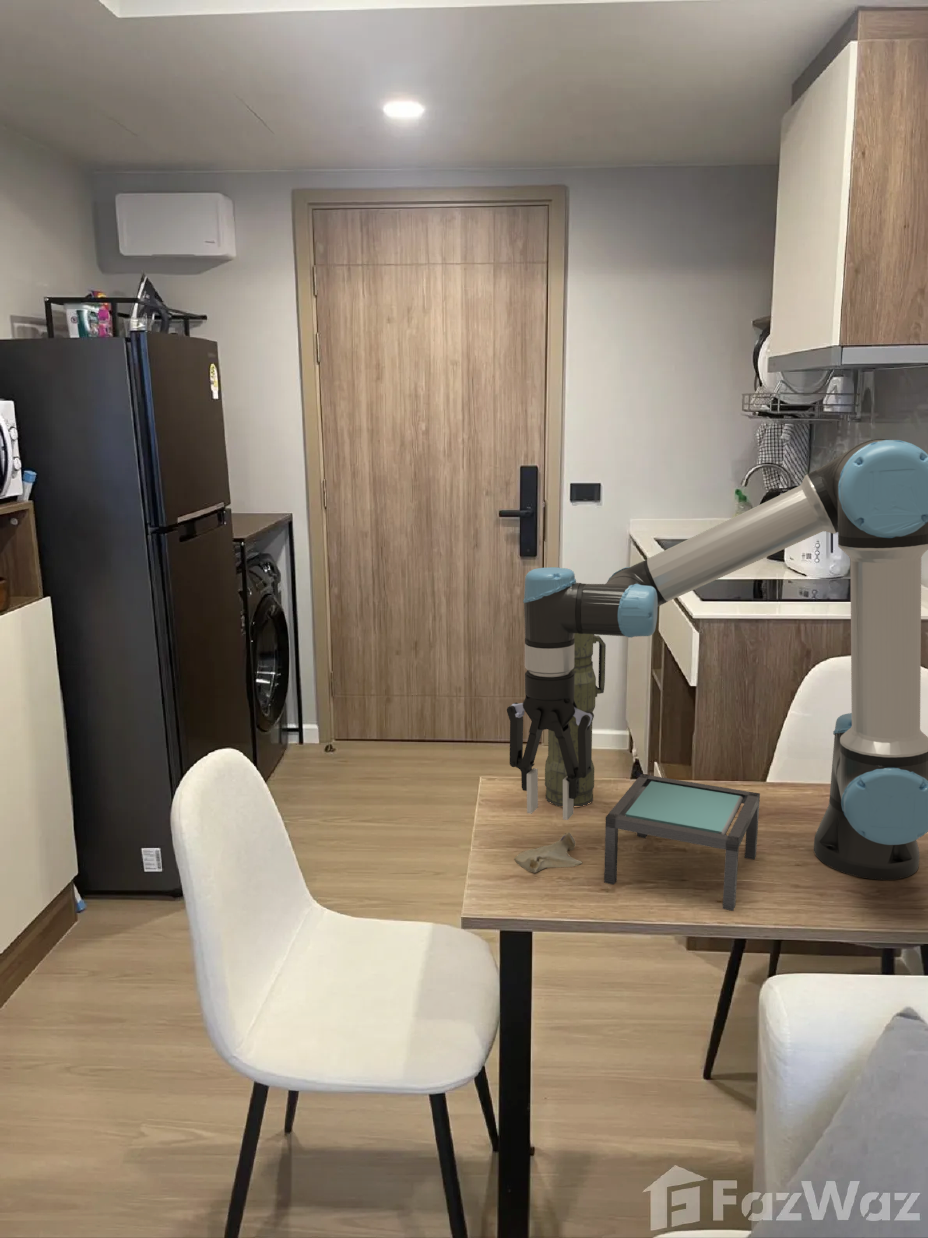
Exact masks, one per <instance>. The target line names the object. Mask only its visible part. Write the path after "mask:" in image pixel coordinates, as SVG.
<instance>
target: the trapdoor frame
mask: <svg viewBox="0 0 928 1238" xmlns="http://www.w3.org/2000/svg"><path fill="white" fill-rule="evenodd" d="M651 781H653V782H659V783H665V784H671V785H677V786H683V787H689V788H695V789H701V790H707V791H713V792H719V793H725V794H731V795H737V796H742V797H743V801H742V803H741V804H743V805H742V807H741V810H740V812H739V813H738V816H737V818H736V820H735V822H734V824H733V826H732V828H731V829H730V831H729V833H728V835H727V834H726V835H723V834H718V833H712V832H707V831H702V830H696V829H691V828H685V827H680V826H675V825H669V824H664V823H659V822H653V821H648V820H642V819H637V818H632V817H626V816H625V814H626V813H627V811H628V810H629V809H630V808H631V806H632V805H633V804H634V802H635V801H636V800H637V799H638V797H639V796H640V795H641V793H642V792H643V791H644V790H645V788H646V787H647V786H648V784H649V783H650V782H651ZM760 798H761V793H759V792H753V791H748V790H741V789H736V788H729V787H721V786H716V785H712V784H705V783H700V782H699V783H698V782H692V781H686V780H681V779H676V778H675V779H674V778H670V777H669V778H667V777H662V776H658V775H657V776H654V775H648V774H644V773H640V775H639V776H638V777H637V779H636V780H635V781H634V782H633V783H632V784H631V785H630V787H629V788H628V790H626V791H625V793H624V794H623V795H622V796H621V798H620V799H619V800H618V801H617V803H616V804H615V806H613V807H612V808H611V810H610V811H609V813H608V814H607V815H606V816H605V831H604V832H605V834H604V869H603V870H604V873H603V875H604V876H603V877H604V878H603V883H605V884H609V885H613V886H614V885H615V883H616V882H617V881H618V852H619V851H618V850H619V847H618V846H619V845H618V844H619V830H620V831H621V830H622V831H627V832H631V833H636V837H637V838H642V839H646V838H647V837H648V836H652V837H658V838H664V839H669V840H672V841H679V842H684V843H688V844H693V845H699V846H704V847H711V848H714V849H720V850H725V857H724V875H723V895H722V909H723V910H728V911H731V912H734V910H735V908H736V902H737V887H738V886H737V885H738V869H739V868H738V866H739V852H740V851H739V848H740V846H741V844H742V842H743V839H744V838H745V846H744V848H745V849H744V858H745V859H750V860H754V861H755V860H756V858H757V850H758V849H757V848H758V847H757V846H758V845H757V844H758V833H759V831H758V830H759V815H760V814H759V813H760V803H761V802H760Z"/></svg>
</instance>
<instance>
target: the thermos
mask: <svg viewBox="0 0 928 1238" xmlns="http://www.w3.org/2000/svg"><path fill="white" fill-rule="evenodd" d="M574 639H575V642H574V643H575V644H574V668H573V669H572V671H573V672H574V674H575V689H574V701H575V703H576V705H577V709H579V710H581V711H584V712H586V713H587V712H592V713H593V712H594V710H595V709H596V698H598V694H599V695H600V694H604V691H605V683H606V654H607V653H606V650H607V649H606V643H605V642H604V640H603V639H602V638H601V635H595V634H577V633H575V635H574ZM597 643H598V686H597V682H596V681H597V677H596V674H595V671H594V666H593V664H594V662H593V658H592V657H593V656H594V655H593V654H594V644H597ZM593 714H594V713H593ZM569 725H570V729H571V731H570V734H571V738H572V742H573V745H574V749H575V753H576V757H577V761H578V727H579V725H577V724H576V718H575V717H574V716H573V717H572V719H571V720H570V721H569ZM590 728H591V772H590V773H589V774H588V775H587V776H586V777H585V778H579V795H578V796H577V797H576V798H575V799H573V807H574V806H583V805H586V806H588V805H589V804H588V803H590V802H591V803H593V801H594V792H593V791H594V787H595V766H594V762H593V757H592V754H593V753H592V752H593V750H592V749H593V723H592V724H591V726H590ZM547 730H548V729H547ZM547 735H548V736H547V737H548V738H547V744H548V745H547V758H546V760H545V766H544V786H545V800H546V799H547V800H546V801H547V802H548V803H549V802H551V803H553V804H555V805H554V806H556V805H557V806H556V807H559V806H563V779H564V778H565V777H566V776H567V773H566V769H565V765H564V761H563V758H562V754H561V750H560V746H559V742H558V739H557V738H556V736H555V733H554V731H551V730H548V734H547ZM551 803H550V804H551ZM591 803H590V804H591ZM553 804H552V805H553ZM587 804H588V805H587ZM583 807H584V806H583Z"/></svg>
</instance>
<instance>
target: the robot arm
mask: <svg viewBox="0 0 928 1238" xmlns="http://www.w3.org/2000/svg"><path fill="white" fill-rule="evenodd" d="M803 477H804V478H802V479H803V480H802V482H801V484H800V485H798V486H796V487H794V488H792V489H790V490H788V491H786V492H783V493H781V494H779V495H778V496H775V497H773V498H771V499H769V500H766V501H765V502H763V503H761V504H758V505H756V506H755V507H753V508H751V509H748V510H745V511H744V512H743V513H740V514H737V515H736V516H733V517H732V518H731V517H730V518H729V519H727V520H725V521H723V522H720V523H718V524H717V525H715V526H713V527H710V528H709V529H706V530H704V531H703V532H700V533H698V534H696V535H694V536H691V537H690V538H688V539H685V540H684V541H682V542H679V543H676V544H675V545H673V546H671V547H669V548H667V549H665V550H663V551H660V552H658V553H656V554H654V555H652V556H650V557H647V559H645V560H643V561H640V562H638V563H636V564H634V565H632V566H628V567H627V566H626V567H623V568H621V569H619V570H618V571H616V572H614V573H613V574H612V575H611V576H610V577H609V578H608V580H607V581H606V583H582V582H577V580H576V578H575V575H576V574H575V572H574V571H573V570H572V569H570V568H565V567H562V568H561V567H551V566H550V567H539V568H538V567H537V568H534V569H531V570H529V571H528V572H527V574H526V575H525V577H524V593H523V595H524V598H523V600H522V601H523V602H522V603H523V608H524V609H523V611H524V613H523V614H524V615H523V616H524V668H525V669H526V671H525V672H524V693H525V697H524V700H523V701H522V702H520V703H519V702H514V703H512V704H511V705H509V706H507V708H506V713H507V716H508V719H509V765H510V766H511V767H512V768H517V769H519V771H520V773H521V777H520V778H521V790H522V791H524V792H526V813H527V814H530V815H531V814H533V813H534V812H535V811H536V810H538V808H539V786H538V785H539V784H538V783H539V776H538V774H539V771H538V770H539V769H538V768H534V766H535V759H536V755H537V752H538V749H539V746H540V741H541V738H542V734H543V731H544V730H551V731H554V733H555V736H556V738H557V739H558V742H559V746H560V750H561V754H562V758H563V761H564V765H565V769H566V773H567V776H566V777H565V778H564V779H563V807H562V820H564V821H568V820H569V819H570V818H571V817H572V816H573V815H574V808H573V799H575V798H576V797H577V796H578V795H579V778H585V777H586V776H587V775H588V774H589V773H590V772H591V728H590V726H591V724H592V725H593V720H594V719H595V714H594V713H592V712H587V713H586V712H584V711H581V710H579V709H577V705H576V703H575V701H574V689H575V674H574V672H573V671H572V669H573V668H574V644H575V643H574V642H575V639H574V635H575V633H577V634H594V635H595V636H611V637H612V636H616V637H626V638H635V637H650V636H652V635H653V634H654V633H655V631H656V627H657V622H658V607H660V606H663V605H664V604H666V603H668V602H670V601H672V600H674V599H677V598H678V597H681V596H684V595H685V594H687V593H689V592H692V591H694V590H697V589H698V588H701V587H703V586H705V585H707V584H710V583H712V582H714V581H716V580H718V579H720V578H723V577H725V576H727V575H730V574H731V573H734V572H737V571H738V570H740V569H743V568H745V567H747V566H749V565H752V564H754V563H756V562H759V561H760V560H762V559H764V558H767V557H769V556H771V555H774V554H776V553H778V552H780V551H783V550H785V549H787V548H790V547H791V546H794V545H795V544H798V543H800V542H803V541H805V540H807V539H810V538H811V537H814V536H816V535H819V534H820V533H823V532H825V533H826V532H827V533H830V534H834V535H835V534H837V546H838V548H839V549H840V550H841V551H843V553H845V554H846V555H847V556H848V557H849V559H850V562H849V564H850V662H851V663H850V666H851V667H850V671H851V678H850V681H851V683H850V684H851V685H850V686H851V690H850V691H851V694H850V695H851V712H849V713H844V714H842V715H839V717H837V719H836V720H835V726H834V730H833V731H832V734H833V735H834V738H833V750H832V751H833V753H832V760H831V761H832V764H831V776H830V786H829V787H830V788H829V799H828V800H829V801H828V806H827V808H826V810H825V812H824V814H823V817H822V819H821V821H820V824H819V825H818V827H817V830H816V832H815V835H814V840H813V853H814V855H815V856H816V858H817V859H818V860H819V861H820V862H822V863H823V864H825V865H826V866H828V867H830V868H832V869H834V870H836V871H838V872H841V873H844V874H848V875H850V876H853V877H859V878H863V879H870V880H878V881H879V880H880V881H886V880H887V881H888V880H889V881H890V880H900V879H906V878H907V877H910V876H912V875H914V874H915V873H916V872H917V871H918V869H919V863H920V849H919V846H918V839H919V838H921V837H923V836H924V835H925V834H927V833H928V735H926V734H925V733H924V732H923V731H922V730H921V683H922V682H921V677H922V676H921V674H922V673H921V670H922V669H921V667H922V664H921V663H922V661H921V659H922V651H921V650H922V647H921V646H922V645H921V644H922V637H921V636H922V630H921V629H922V557H923V556H924V554H925V553H926V552H928V453H927V452H926V451H925V450H923V449H922V448H920V447H919V446H917V445H915V444H913V443H911V442H907V441H903V440H901V439H889V438H888V439H887V438H885V439H884V438H883V439H882V438H877V439H870V440H867V441H863V442H860V443H858V444H856V445H855V446H853V447H852V448H850V449H848V450H847V451H845V452H843V453H842V454H841V455H839V456H838V457H837V458H835V459H833V460H832V461H829V462H828V463H827V464H825V465H823V466H821V467H819V468H818V469H815V470H814V471H812V472H810V473H807V474H805V475H804V476H803ZM525 713H526V716H528V718H529V720H530V721H531V723H530V726H529V729H528V733H529V735H528V738H527V742H526V745H525V750H524V716H525ZM573 716H574V717H575V718H576V724H577V725H579V727H578V761H577V757H576V753H575V749H574V745H573V742H572V738H571V734H570V731H571V729H570V725H569V721H570V720H571V719H572V717H573ZM523 750H524V751H523Z"/></svg>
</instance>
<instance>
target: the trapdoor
mask: <svg viewBox="0 0 928 1238" xmlns="http://www.w3.org/2000/svg"><path fill="white" fill-rule="evenodd" d="M742 801H743V797H742V796H737V795H731V794H725V793H719V792H713V791H707V790H701V789H695V788H689V787H683V786H677V785H671V784H665V783H659V782H653V781H651V782H650V783H649V784H648V786H647V787H646V788H645V790H644V791H643V792H642V793H641V795H640V796H639V797H638V799H637V800H636V801H635V802H634V804H633V805H632V806H631V808H630V809H629V810H628V811H627V813H626V814H625V816H626V817H632V818H637V819H642V820H648V821H653V822H659V823H664V824H669V825H675V826H680V827H685V828H691V829H696V830H702V831H707V832H712V833H718V834H723V835H727V833H728V832H729V829H730V827H731V825H732V824H733V821H734V819H735V818H736V815H737V813H738V812H739V810H740V807H741V805H742V804H743V803H742Z"/></svg>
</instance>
